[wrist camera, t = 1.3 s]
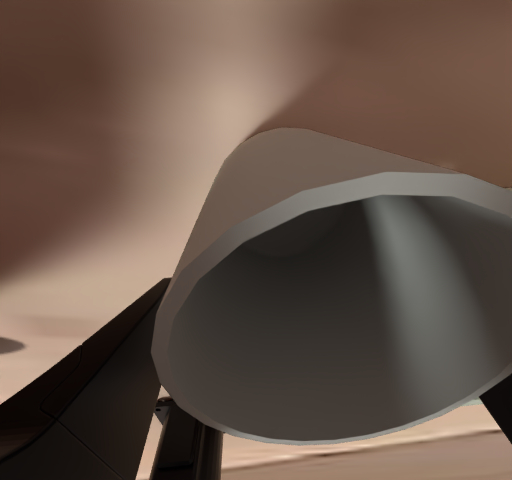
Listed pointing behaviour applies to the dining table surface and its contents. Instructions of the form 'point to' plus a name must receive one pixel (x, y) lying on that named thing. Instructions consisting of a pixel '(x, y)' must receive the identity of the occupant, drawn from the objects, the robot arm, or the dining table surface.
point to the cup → (336, 293)
